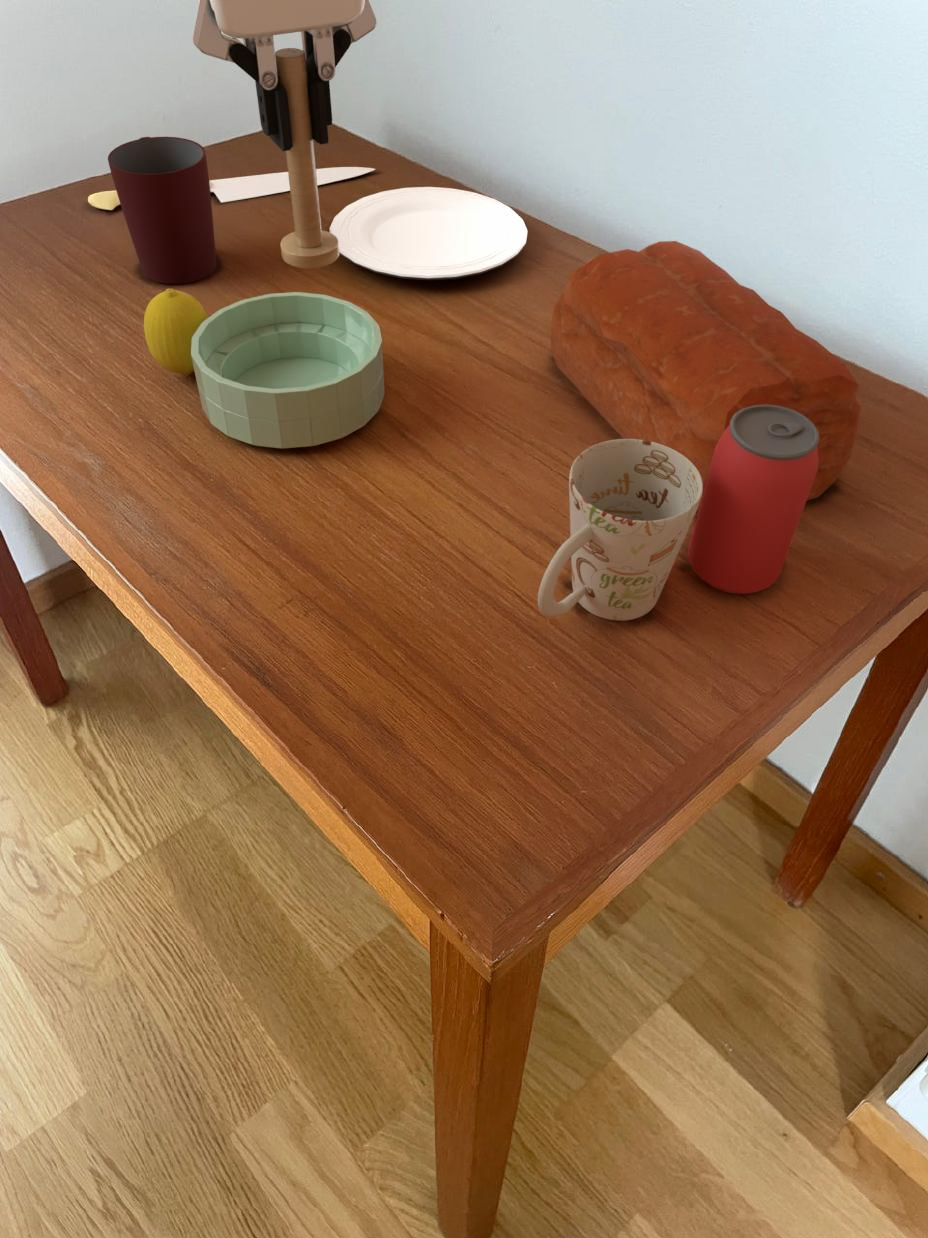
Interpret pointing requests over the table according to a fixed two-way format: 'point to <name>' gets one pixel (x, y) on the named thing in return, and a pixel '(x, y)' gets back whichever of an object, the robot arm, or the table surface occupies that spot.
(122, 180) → the mug
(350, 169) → the knife
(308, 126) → the wooden peg with base
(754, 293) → the bread
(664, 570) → the mug
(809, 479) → the beer can
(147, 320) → the lemon
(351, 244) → the plate
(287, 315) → the bowl
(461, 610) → the table surface
